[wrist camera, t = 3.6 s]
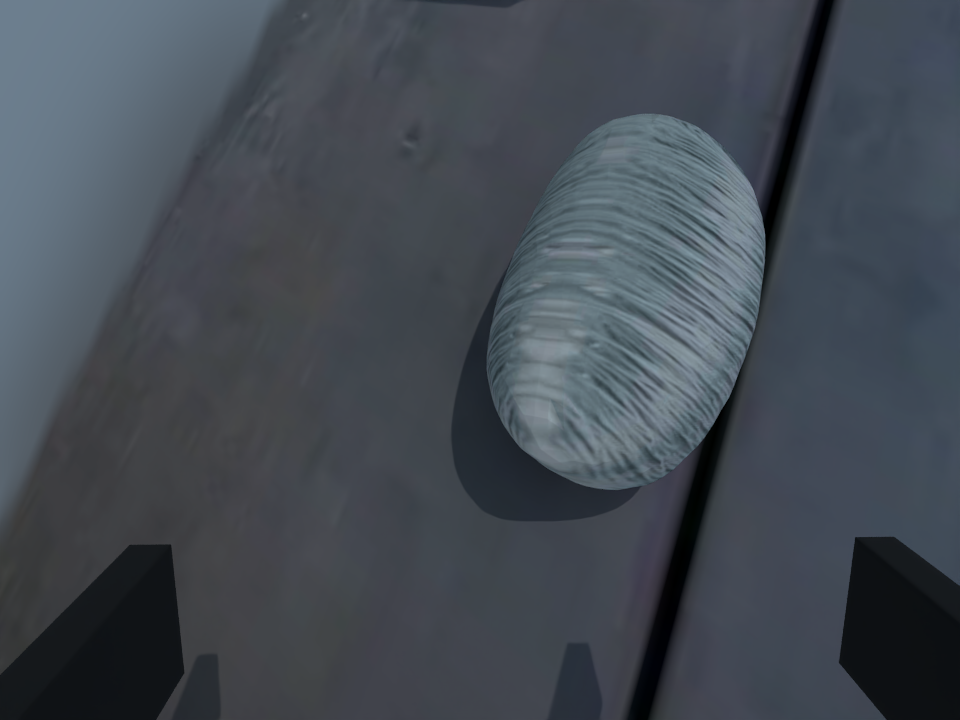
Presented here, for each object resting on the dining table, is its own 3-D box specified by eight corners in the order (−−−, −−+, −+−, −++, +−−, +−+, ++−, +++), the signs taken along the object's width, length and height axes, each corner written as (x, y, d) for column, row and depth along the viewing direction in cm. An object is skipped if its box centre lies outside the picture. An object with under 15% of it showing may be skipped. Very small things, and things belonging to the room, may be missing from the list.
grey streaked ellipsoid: (600, 182, 32) (478, 78, 24) (818, 172, 27) (753, 30, 19) (548, 466, 31) (404, 454, 23) (762, 517, 26) (669, 524, 18)
